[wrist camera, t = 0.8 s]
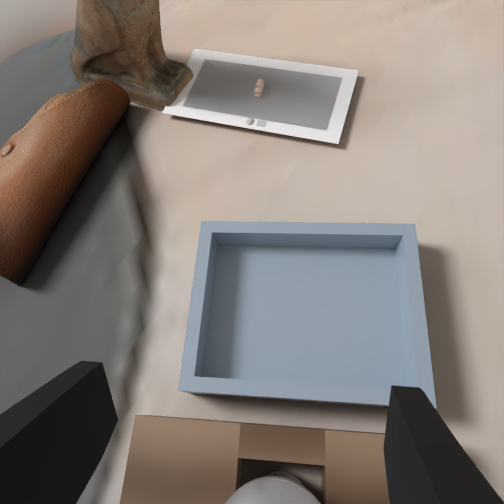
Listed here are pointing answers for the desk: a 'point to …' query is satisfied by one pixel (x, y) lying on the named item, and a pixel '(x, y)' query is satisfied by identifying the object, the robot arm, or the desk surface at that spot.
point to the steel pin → (273, 491)
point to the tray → (307, 313)
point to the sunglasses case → (51, 167)
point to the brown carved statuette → (126, 51)
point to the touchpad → (267, 95)
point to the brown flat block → (249, 447)
